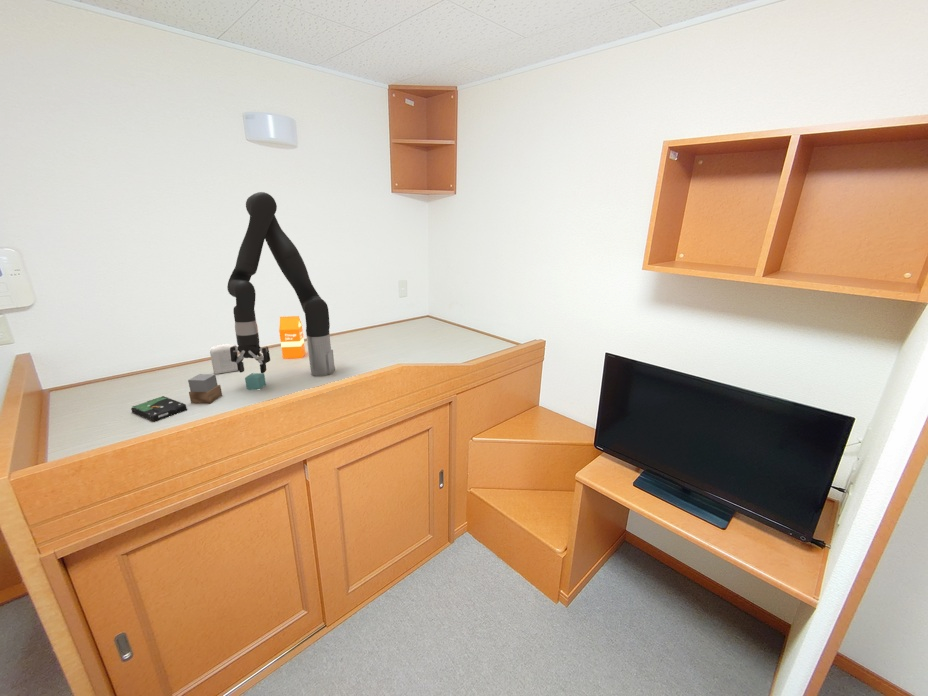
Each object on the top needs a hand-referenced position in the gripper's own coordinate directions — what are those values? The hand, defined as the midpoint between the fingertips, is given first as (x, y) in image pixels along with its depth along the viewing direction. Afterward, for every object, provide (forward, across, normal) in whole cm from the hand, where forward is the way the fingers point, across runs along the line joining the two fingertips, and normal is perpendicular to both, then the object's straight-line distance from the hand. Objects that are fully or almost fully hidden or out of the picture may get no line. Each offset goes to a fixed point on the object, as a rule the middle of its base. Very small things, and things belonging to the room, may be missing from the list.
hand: (252, 372), depth 154 cm
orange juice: (+6, +2, -39) cm, 40 cm away
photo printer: (+7, +22, -17) cm, 28 cm away
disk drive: (+8, +21, +22) cm, 31 cm away
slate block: (+2, +11, +12) cm, 17 cm away
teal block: (+6, -1, 0) cm, 6 cm away
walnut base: (+7, +11, +12) cm, 18 cm away
